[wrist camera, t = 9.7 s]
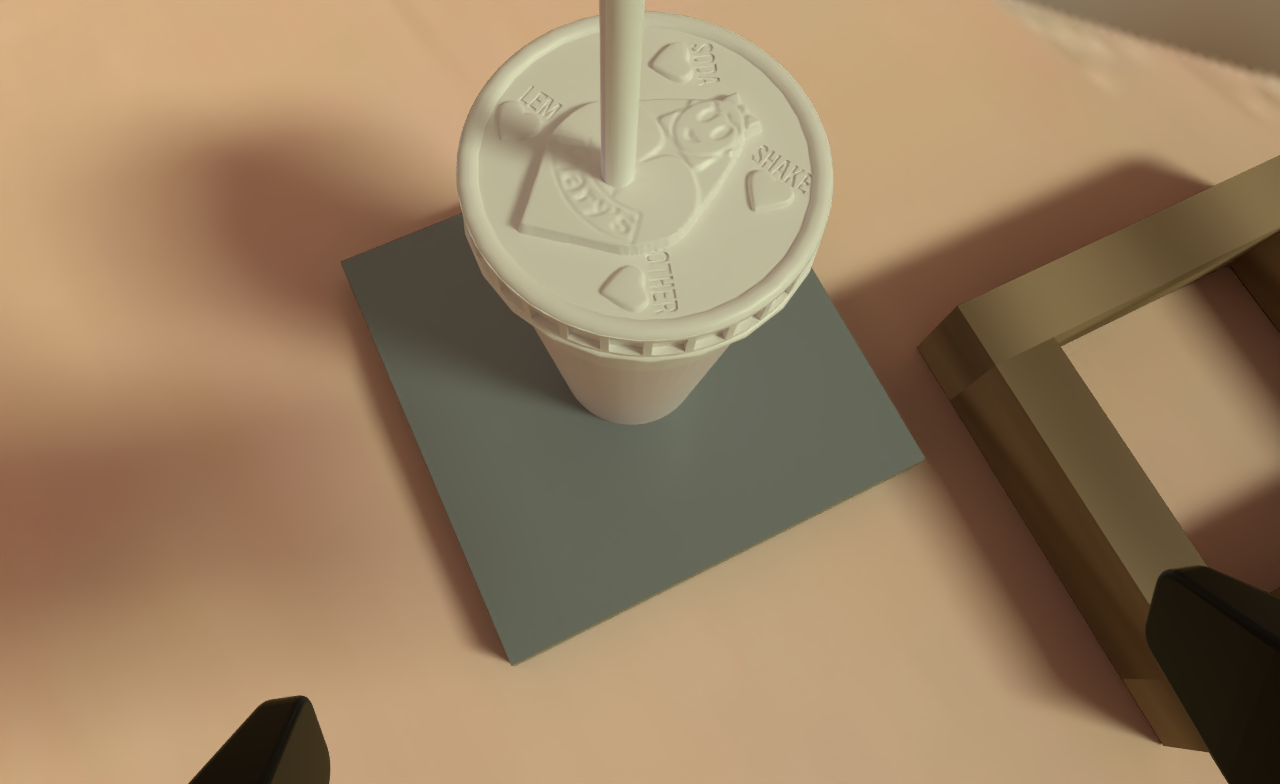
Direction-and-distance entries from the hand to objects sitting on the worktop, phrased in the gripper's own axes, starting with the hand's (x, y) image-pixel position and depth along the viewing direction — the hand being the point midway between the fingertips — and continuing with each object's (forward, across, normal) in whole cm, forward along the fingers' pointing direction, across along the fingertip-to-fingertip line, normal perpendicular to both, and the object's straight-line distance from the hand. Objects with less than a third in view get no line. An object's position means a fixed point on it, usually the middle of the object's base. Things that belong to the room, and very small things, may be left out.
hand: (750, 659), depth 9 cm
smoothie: (+15, 0, +4) cm, 15 cm away
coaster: (+15, 0, +4) cm, 16 cm away
